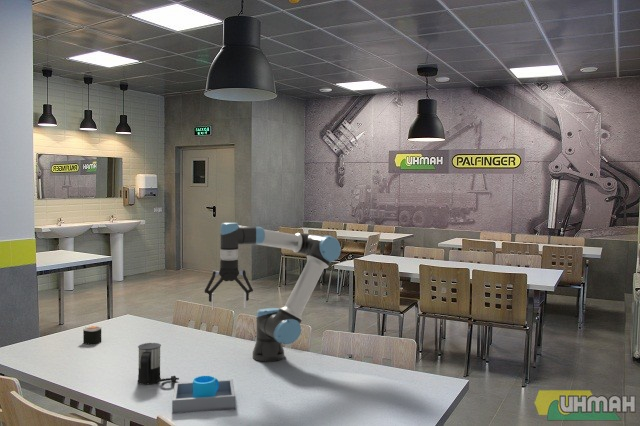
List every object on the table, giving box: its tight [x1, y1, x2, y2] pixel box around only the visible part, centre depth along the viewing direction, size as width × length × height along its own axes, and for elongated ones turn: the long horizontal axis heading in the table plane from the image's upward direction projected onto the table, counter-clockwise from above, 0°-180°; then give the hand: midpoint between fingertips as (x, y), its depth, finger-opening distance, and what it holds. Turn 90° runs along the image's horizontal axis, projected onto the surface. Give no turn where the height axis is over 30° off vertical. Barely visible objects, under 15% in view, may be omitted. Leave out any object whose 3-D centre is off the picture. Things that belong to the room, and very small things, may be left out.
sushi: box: [82, 325, 103, 346], centre depth 267 cm, size 8×8×8 cm
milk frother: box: [137, 342, 180, 385], centre depth 213 cm, size 14×16×15 cm
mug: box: [192, 375, 219, 398], centre depth 194 cm, size 12×8×8 cm
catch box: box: [171, 379, 236, 415], centre depth 194 cm, size 22×17×5 cm
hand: (228, 308), depth 221 cm, fingers open, 13 cm apart
